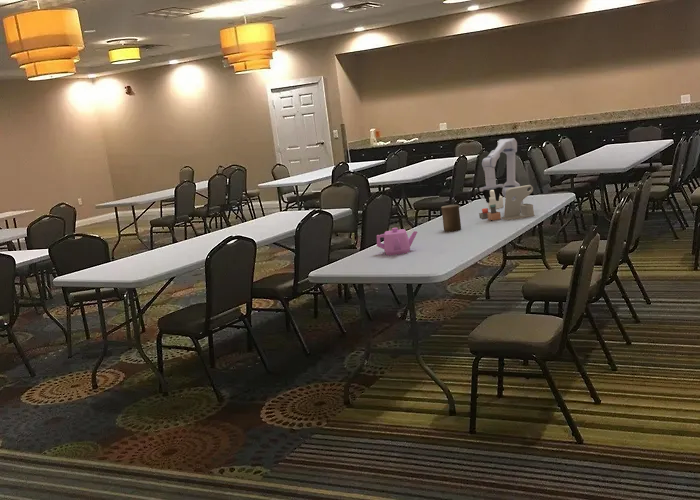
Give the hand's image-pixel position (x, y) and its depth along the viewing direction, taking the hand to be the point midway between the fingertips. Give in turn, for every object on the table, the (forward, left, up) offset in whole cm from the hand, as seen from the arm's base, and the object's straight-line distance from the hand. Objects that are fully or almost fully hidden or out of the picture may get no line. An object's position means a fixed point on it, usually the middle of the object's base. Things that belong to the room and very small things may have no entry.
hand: (492, 201), depth 419 cm
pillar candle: (+30, +10, -11) cm, 34 cm away
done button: (+1, -10, -8) cm, 13 cm away
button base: (+1, -10, -10) cm, 14 cm away
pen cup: (0, 0, -10) cm, 10 cm away
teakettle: (+72, +44, -11) cm, 85 cm away
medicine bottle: (-19, -40, -11) cm, 45 cm away
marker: (0, 0, -10) cm, 10 cm away
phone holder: (-12, +5, -11) cm, 17 cm away
